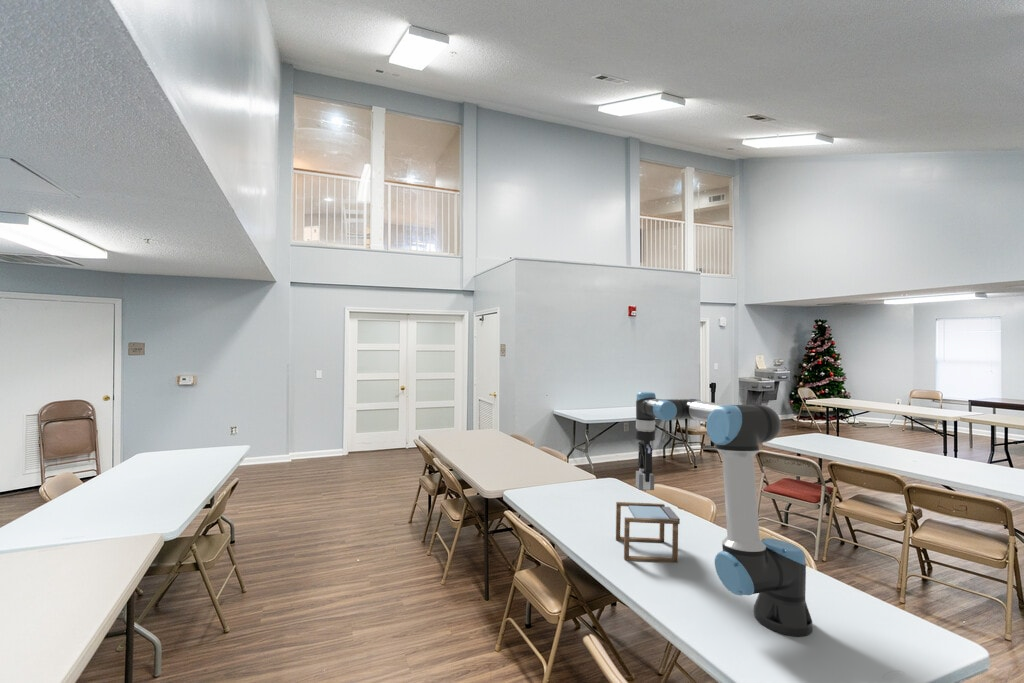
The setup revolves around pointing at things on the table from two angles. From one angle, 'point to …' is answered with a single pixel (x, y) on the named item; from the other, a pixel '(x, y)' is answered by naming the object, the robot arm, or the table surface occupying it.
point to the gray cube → (640, 480)
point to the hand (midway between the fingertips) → (644, 486)
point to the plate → (653, 512)
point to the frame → (660, 539)
